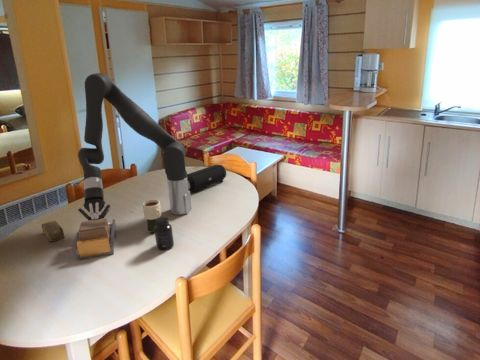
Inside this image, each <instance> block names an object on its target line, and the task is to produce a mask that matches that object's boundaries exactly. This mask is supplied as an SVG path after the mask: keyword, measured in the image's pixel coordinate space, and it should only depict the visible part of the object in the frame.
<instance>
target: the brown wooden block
mask: <svg viewBox="0 0 480 360" xmlns="http://www.w3.org/2000/svg"><path fill="white" fill-rule="evenodd" d="M108 223H109V219H107V217H106V218H105V217H104V218H102V219H98V220H85V221H81V223H80V225H79V229H78V233H77V234H78V238H79V240H80V241H85V240H91V239H97V238H104V237H108V238H109V236H110V230H109V225H108Z"/></svg>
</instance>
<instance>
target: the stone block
mask: <svg viewBox="0 0 480 360" xmlns="http://www.w3.org/2000/svg"><path fill="white" fill-rule="evenodd" d="M41 229H42V232H43V234H44V236H45V237H46V238H47V239H48V240H49V241H50V242H55V241H59V240H62V239H64V238H65V233H64V229H63V228H62V227H61V225H60V224H59V223H58V221H56V220H52V221H48V222H45V223H41Z"/></svg>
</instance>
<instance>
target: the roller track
mask: <svg viewBox="0 0 480 360" xmlns="http://www.w3.org/2000/svg"><path fill="white" fill-rule="evenodd" d="M108 225H109V230H110V236H109V238H108V237H104V238H97V239H91V240H85V241H80V239H79V240H78V241H76V246H77V247H76V248H77V249H76V252H75V253H76V254H75V256H76V260H77V261H83V260H88V259H95V258H99V257H105V256H106V257H107V256H111V255H114V254H115V245H116V242H115V241H116V232H117V231H116V229H117V223H116V219H112V222H108Z"/></svg>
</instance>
